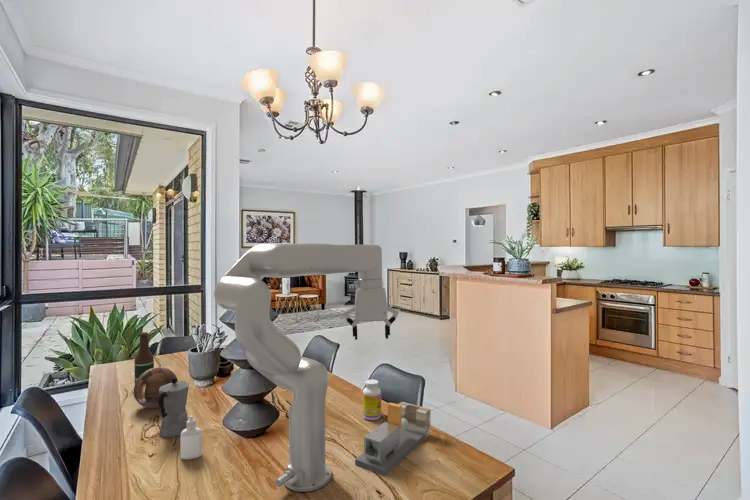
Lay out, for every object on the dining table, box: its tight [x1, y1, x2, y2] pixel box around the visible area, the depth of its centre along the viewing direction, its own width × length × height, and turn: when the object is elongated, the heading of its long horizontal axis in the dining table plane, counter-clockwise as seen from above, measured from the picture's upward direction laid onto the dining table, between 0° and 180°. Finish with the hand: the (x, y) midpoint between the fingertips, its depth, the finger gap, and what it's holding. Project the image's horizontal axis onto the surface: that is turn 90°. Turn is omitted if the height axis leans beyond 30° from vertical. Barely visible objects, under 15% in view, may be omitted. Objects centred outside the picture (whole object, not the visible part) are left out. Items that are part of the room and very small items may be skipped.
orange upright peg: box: [372, 402, 409, 451], centre depth 116 cm, size 16×4×10 cm, turn 147°
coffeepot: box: [158, 377, 190, 439], centre depth 128 cm, size 15×9×18 cm, turn 0°
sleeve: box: [363, 421, 400, 464], centre depth 112 cm, size 11×5×7 cm, turn 147°
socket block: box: [398, 401, 432, 441], centre depth 127 cm, size 4×11×8 cm, turn 57°
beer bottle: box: [133, 331, 155, 384], centre depth 170 cm, size 8×8×24 cm
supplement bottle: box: [362, 379, 382, 421], centre depth 139 cm, size 7×7×13 cm
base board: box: [354, 429, 424, 477], centre depth 117 cm, size 25×10×2 cm, turn 147°
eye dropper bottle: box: [179, 415, 203, 461], centre depth 113 cm, size 4×6×12 cm
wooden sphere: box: [133, 366, 179, 409], centre depth 149 cm, size 15×15×15 cm
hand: (371, 338), depth 121 cm, fingers open, 9 cm apart
